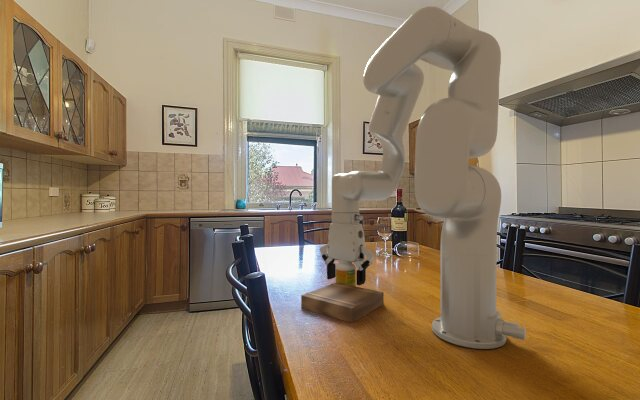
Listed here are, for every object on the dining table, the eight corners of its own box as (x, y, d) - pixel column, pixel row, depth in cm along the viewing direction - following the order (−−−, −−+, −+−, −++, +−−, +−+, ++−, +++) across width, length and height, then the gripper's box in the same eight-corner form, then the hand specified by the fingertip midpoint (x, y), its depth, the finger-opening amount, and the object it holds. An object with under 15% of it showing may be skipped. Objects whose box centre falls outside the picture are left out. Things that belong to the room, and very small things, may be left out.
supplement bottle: (348, 296, 82) (348, 259, 82) (331, 292, 85) (331, 256, 85) (359, 291, 86) (359, 256, 86) (342, 287, 90) (342, 253, 90)
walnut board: (383, 304, 75) (383, 291, 75) (351, 322, 64) (351, 307, 64) (336, 293, 84) (336, 282, 84) (301, 308, 73) (301, 294, 73)
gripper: (380, 219, 83) (380, 283, 83) (328, 217, 94) (328, 273, 94) (366, 221, 77) (366, 290, 77) (312, 218, 88) (312, 279, 88)
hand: (345, 281), depth 86 cm, fingers open, 9 cm apart
